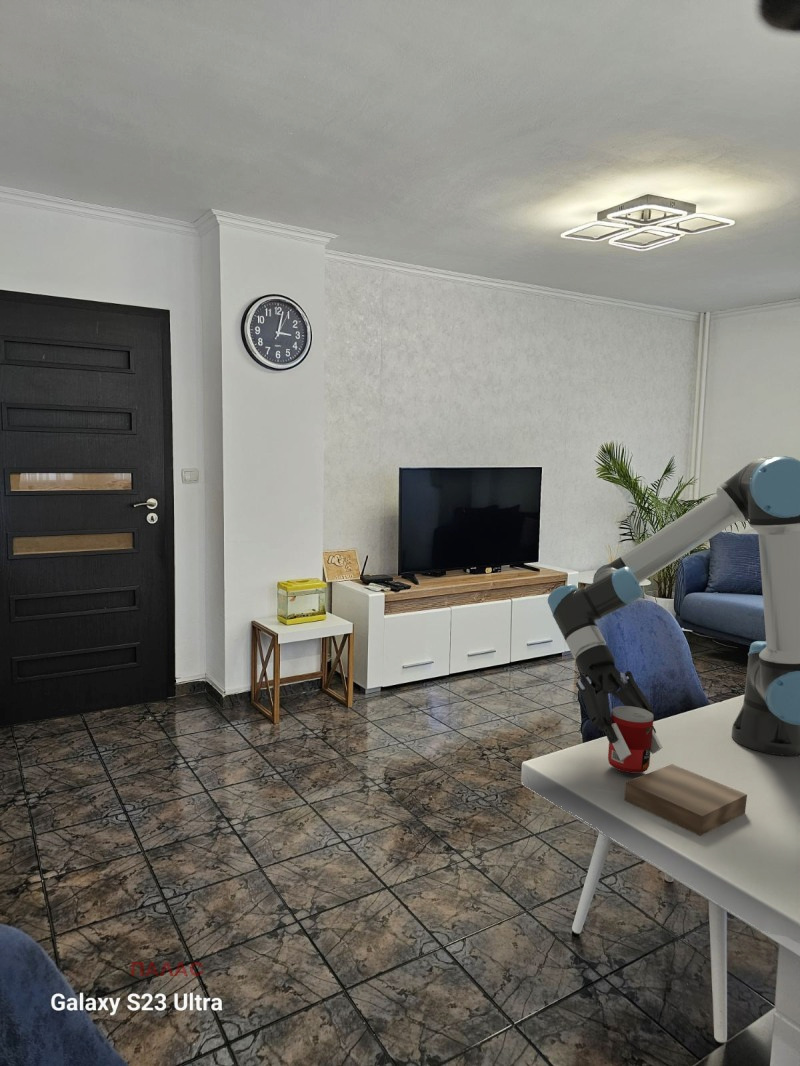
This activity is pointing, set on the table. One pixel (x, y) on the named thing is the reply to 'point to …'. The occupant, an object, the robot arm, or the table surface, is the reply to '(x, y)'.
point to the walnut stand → (685, 798)
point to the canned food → (632, 738)
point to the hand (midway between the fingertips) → (641, 754)
